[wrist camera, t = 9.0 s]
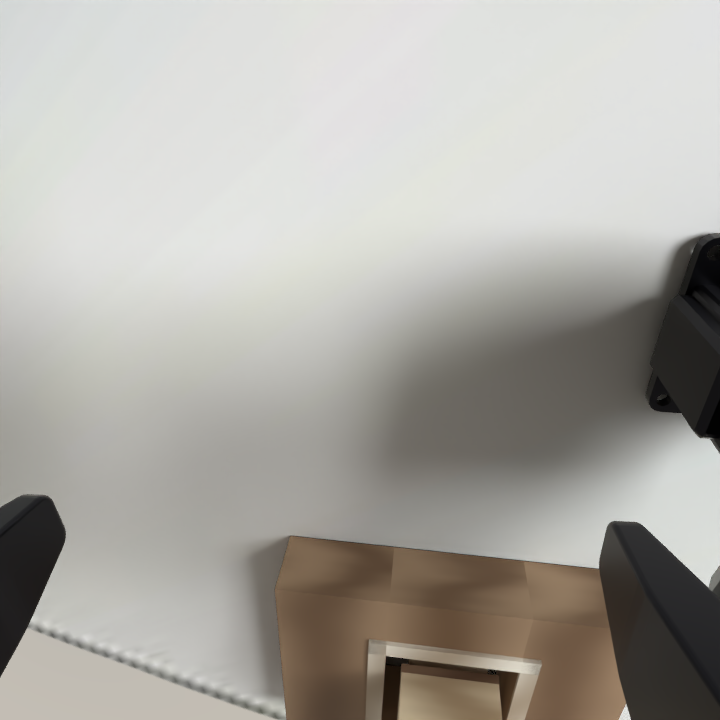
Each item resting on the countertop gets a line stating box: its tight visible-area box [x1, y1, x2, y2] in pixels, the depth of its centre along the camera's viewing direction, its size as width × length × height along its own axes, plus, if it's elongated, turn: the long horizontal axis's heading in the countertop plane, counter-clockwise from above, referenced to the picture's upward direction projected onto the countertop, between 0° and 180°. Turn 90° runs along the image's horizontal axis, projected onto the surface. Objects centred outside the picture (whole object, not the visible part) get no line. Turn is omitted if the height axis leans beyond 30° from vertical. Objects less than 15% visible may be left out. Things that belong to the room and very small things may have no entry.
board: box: [275, 536, 626, 720], centre depth 28 cm, size 16×13×3 cm
